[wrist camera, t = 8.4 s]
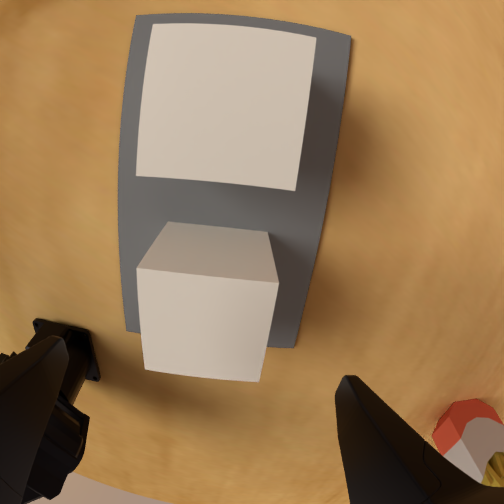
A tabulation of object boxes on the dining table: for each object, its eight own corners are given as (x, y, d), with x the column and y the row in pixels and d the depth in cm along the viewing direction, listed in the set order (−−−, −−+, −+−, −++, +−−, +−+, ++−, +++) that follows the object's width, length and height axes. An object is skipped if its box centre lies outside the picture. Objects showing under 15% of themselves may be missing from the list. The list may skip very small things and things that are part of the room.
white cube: (254, 314, 23) (259, 382, 17) (166, 305, 23) (145, 369, 16) (267, 231, 21) (279, 283, 14) (168, 221, 20) (136, 267, 14)
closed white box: (276, 167, 19) (295, 191, 13) (171, 157, 19) (135, 175, 12) (290, 66, 16) (316, 37, 10) (182, 56, 16) (152, 24, 10)
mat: (293, 345, 25) (293, 348, 25) (127, 329, 24) (126, 331, 24) (349, 37, 16) (351, 35, 16) (137, 16, 15) (136, 15, 14)
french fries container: (443, 401, 31) (496, 507, 14) (487, 395, 32) (537, 479, 16) (425, 423, 33) (468, 524, 16) (470, 415, 34) (514, 498, 17)
